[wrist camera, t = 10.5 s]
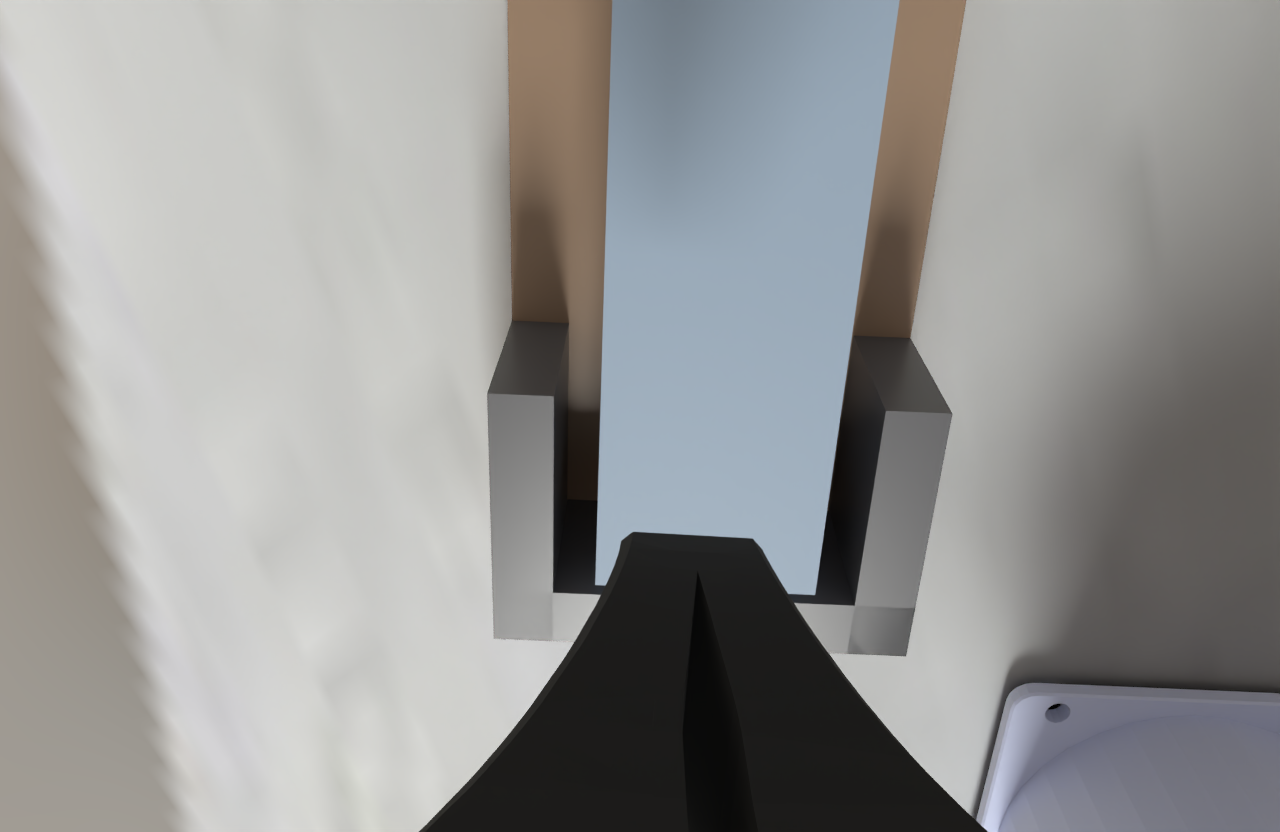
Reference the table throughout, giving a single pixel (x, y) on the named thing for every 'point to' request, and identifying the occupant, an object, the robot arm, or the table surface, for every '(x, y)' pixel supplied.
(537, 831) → the robot arm
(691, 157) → the blue-grey long block
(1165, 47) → the table surface
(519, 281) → the bench frame
